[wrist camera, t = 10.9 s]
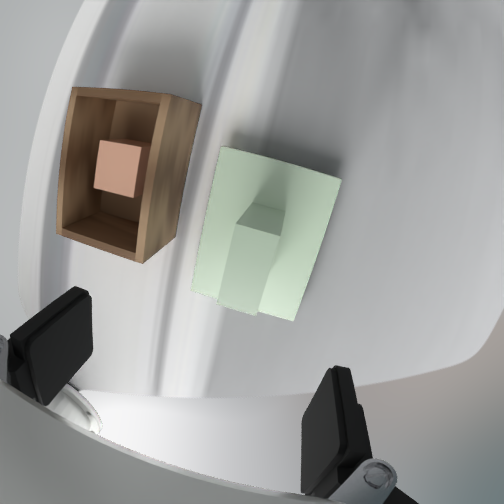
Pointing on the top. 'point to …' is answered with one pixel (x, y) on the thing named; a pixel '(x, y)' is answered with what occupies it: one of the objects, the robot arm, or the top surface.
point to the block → (122, 166)
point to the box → (157, 176)
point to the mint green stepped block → (262, 232)
